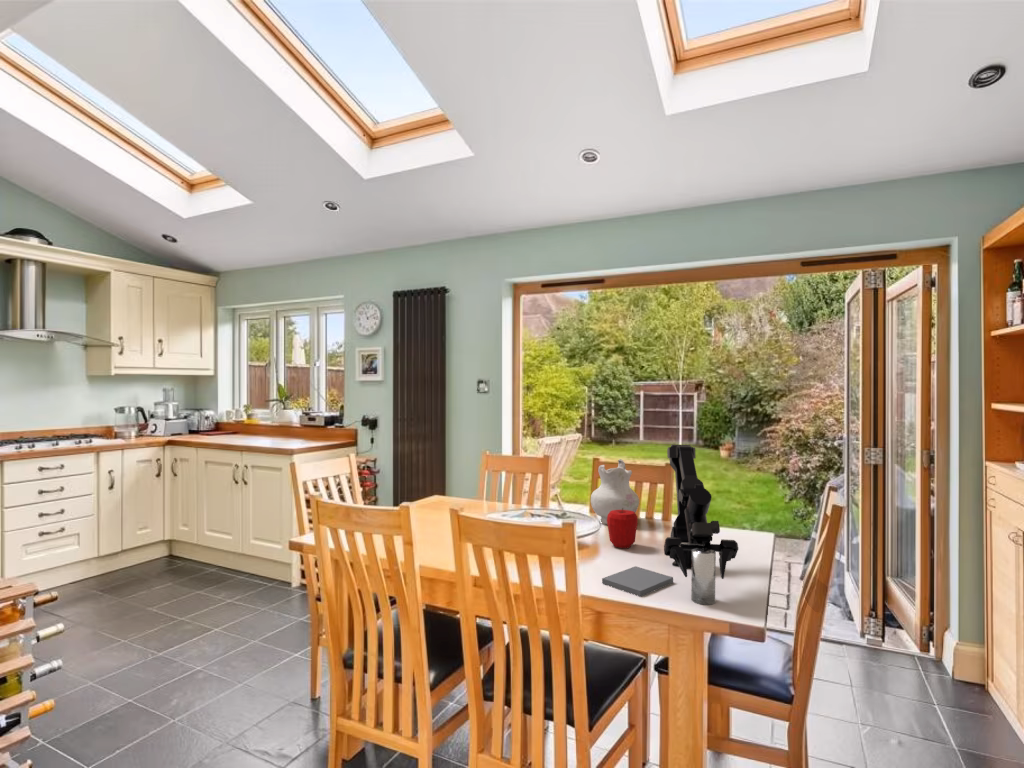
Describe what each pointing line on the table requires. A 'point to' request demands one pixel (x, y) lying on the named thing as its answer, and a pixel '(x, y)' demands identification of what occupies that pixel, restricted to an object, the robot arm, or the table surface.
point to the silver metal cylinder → (703, 576)
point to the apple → (622, 527)
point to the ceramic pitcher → (614, 492)
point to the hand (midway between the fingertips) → (704, 577)
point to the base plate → (637, 580)
